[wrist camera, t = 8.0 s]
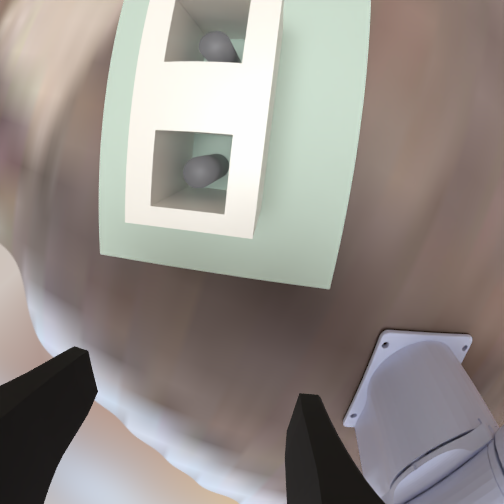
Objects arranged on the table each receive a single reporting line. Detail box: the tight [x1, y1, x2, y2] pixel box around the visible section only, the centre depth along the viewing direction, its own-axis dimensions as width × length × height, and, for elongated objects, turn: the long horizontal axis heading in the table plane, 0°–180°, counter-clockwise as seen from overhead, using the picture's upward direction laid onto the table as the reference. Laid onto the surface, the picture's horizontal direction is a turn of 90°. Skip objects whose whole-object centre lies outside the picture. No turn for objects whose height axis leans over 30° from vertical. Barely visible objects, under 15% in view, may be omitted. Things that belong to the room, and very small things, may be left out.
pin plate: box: [99, 0, 371, 289], centre depth 13 cm, size 16×13×5 cm
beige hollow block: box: [125, 0, 284, 239], centre depth 11 cm, size 9×5×5 cm, turn 174°
